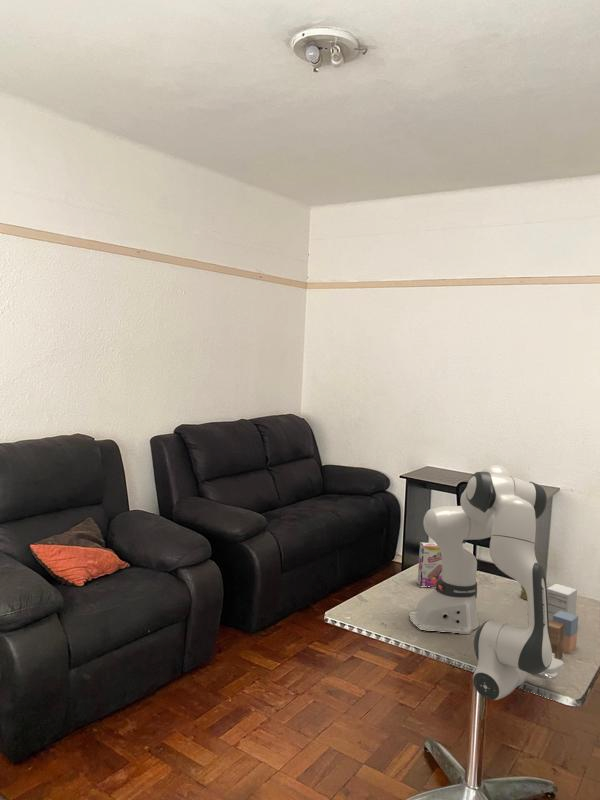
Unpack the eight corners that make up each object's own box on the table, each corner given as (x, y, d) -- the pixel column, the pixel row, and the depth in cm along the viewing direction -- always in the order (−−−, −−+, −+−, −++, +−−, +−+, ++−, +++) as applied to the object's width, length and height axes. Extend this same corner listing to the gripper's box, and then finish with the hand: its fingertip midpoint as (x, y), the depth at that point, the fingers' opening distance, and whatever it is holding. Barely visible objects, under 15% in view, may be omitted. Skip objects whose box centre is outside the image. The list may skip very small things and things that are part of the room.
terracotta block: (569, 653, 191) (570, 637, 191) (551, 647, 195) (552, 631, 194) (576, 647, 195) (577, 631, 195) (558, 641, 199) (559, 626, 198)
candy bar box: (420, 588, 241) (422, 545, 240) (417, 583, 246) (419, 541, 245) (449, 588, 242) (451, 546, 240) (445, 583, 247) (447, 542, 245)
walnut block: (556, 662, 185) (558, 628, 184) (541, 656, 188) (543, 623, 187) (562, 657, 188) (564, 624, 188) (547, 651, 191) (549, 619, 191)
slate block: (570, 637, 190) (571, 621, 190) (552, 631, 194) (553, 615, 194) (577, 631, 194) (578, 616, 194) (559, 626, 198) (560, 610, 198)
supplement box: (553, 619, 216) (555, 583, 215) (575, 626, 211) (578, 589, 210) (543, 625, 211) (546, 588, 210) (566, 632, 205) (568, 594, 205)
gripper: (553, 668, 161) (573, 651, 171) (479, 641, 175) (501, 627, 185) (552, 692, 161) (572, 673, 171) (478, 664, 175) (500, 648, 185)
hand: (535, 649), depth 178 cm, fingers open, 8 cm apart
